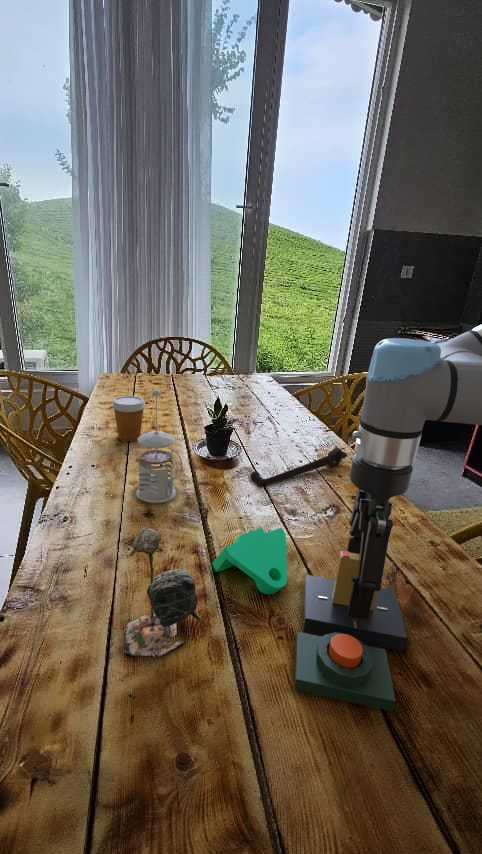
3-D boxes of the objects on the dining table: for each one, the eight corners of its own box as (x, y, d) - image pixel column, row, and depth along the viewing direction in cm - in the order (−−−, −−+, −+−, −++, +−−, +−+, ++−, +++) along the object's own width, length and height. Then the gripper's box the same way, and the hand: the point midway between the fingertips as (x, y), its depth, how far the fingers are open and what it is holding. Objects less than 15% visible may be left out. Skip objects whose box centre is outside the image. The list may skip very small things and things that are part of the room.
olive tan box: (372, 603, 68) (383, 556, 65) (373, 610, 67) (384, 563, 63) (331, 595, 69) (340, 549, 66) (332, 603, 68) (341, 555, 64)
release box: (382, 660, 62) (388, 639, 60) (392, 713, 55) (399, 690, 53) (295, 643, 64) (298, 621, 63) (293, 691, 57) (297, 668, 55)
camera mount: (207, 560, 79) (234, 616, 74) (222, 540, 73) (251, 599, 68) (261, 541, 84) (289, 592, 79) (278, 522, 79) (309, 575, 74)
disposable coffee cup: (136, 446, 127) (136, 407, 123) (107, 441, 130) (105, 402, 126) (150, 435, 136) (150, 397, 131) (122, 430, 139) (121, 393, 134)
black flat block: (391, 604, 72) (395, 588, 71) (402, 654, 63) (407, 637, 62) (303, 588, 75) (306, 573, 74) (302, 634, 66) (305, 617, 65)
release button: (358, 646, 59) (361, 636, 59) (361, 671, 56) (364, 661, 55) (328, 640, 60) (330, 630, 60) (329, 664, 57) (331, 654, 56)
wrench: (248, 484, 112) (334, 455, 126) (260, 494, 108) (347, 463, 122) (249, 466, 110) (337, 439, 123) (261, 476, 106) (350, 447, 120)
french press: (154, 480, 109) (154, 381, 100) (192, 495, 103) (195, 391, 93) (125, 495, 101) (122, 390, 92) (164, 512, 95) (166, 401, 86)
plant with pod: (200, 662, 60) (207, 539, 53) (117, 659, 60) (112, 535, 53) (201, 617, 68) (207, 504, 61) (127, 614, 68) (124, 500, 60)
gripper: (347, 427, 69) (326, 548, 78) (362, 492, 50) (331, 643, 58) (398, 433, 68) (371, 555, 76) (434, 502, 48) (392, 656, 57)
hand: (354, 593), depth 67 cm, fingers open, 9 cm apart
